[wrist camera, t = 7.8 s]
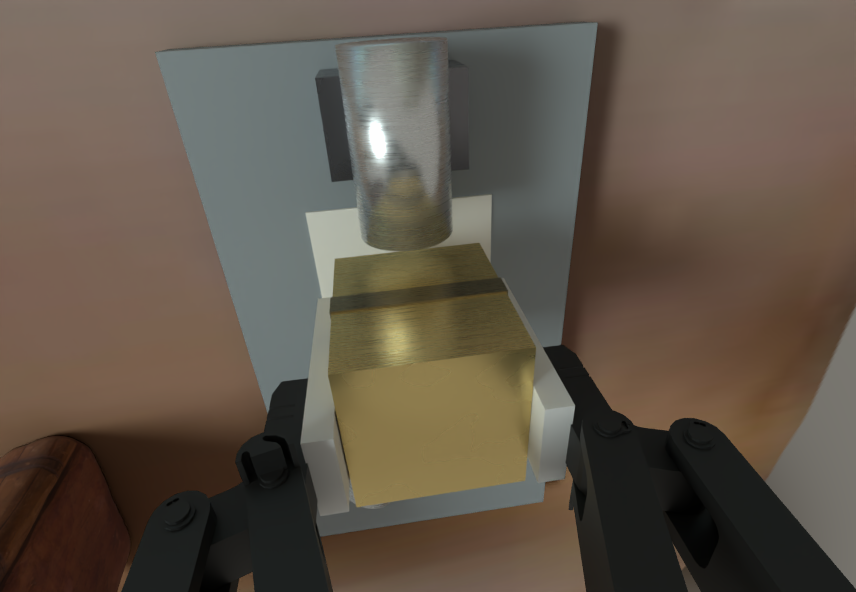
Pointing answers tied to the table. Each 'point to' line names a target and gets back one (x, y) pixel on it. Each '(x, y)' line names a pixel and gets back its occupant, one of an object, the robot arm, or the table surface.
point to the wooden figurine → (58, 521)
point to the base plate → (337, 208)
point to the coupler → (428, 373)
